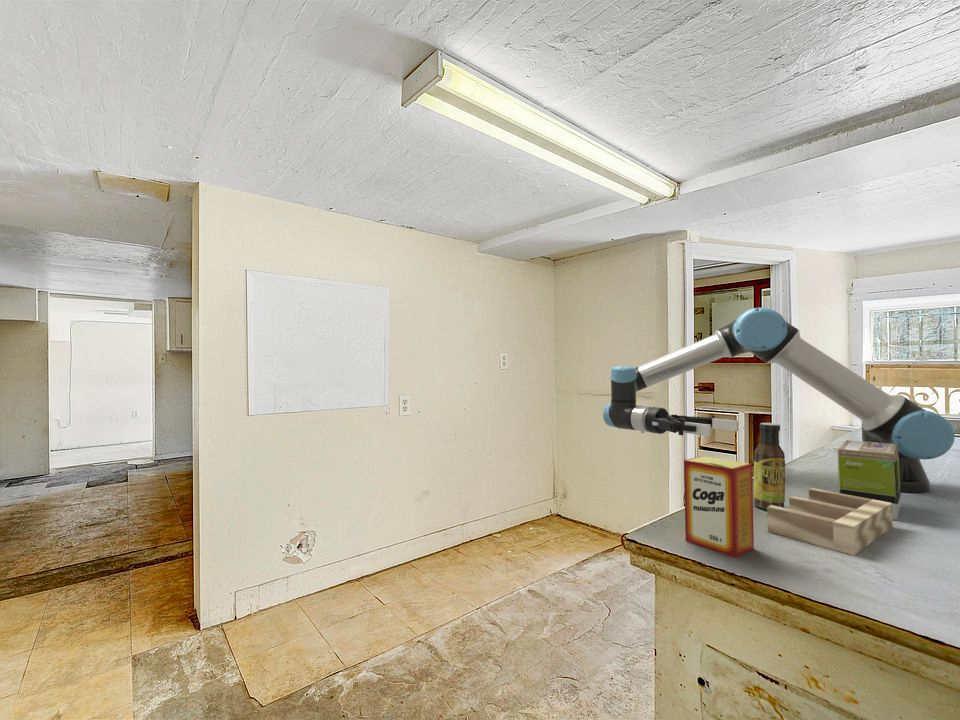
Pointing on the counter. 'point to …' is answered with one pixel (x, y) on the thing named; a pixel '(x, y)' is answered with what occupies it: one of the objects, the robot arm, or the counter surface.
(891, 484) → the tea box
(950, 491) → the counter surface
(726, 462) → the baking soda box
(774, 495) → the sauce bottle
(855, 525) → the comb rack
